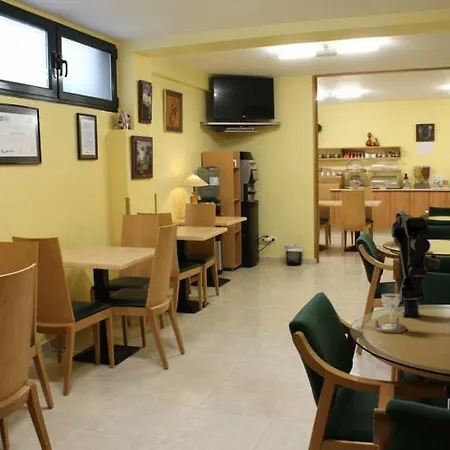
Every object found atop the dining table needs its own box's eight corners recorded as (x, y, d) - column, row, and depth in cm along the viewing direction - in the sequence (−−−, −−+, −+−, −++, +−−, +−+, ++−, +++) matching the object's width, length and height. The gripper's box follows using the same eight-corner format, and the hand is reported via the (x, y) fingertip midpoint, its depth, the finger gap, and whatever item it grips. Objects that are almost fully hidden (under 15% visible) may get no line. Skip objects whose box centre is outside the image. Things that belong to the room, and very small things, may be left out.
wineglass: (388, 330, 207) (387, 297, 206) (378, 325, 214) (377, 294, 213) (404, 327, 209) (403, 295, 208) (394, 323, 215) (393, 292, 214)
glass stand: (375, 325, 218) (375, 316, 218) (405, 325, 215) (405, 316, 215) (375, 333, 208) (374, 324, 207) (406, 333, 205) (406, 324, 204)
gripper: (441, 252, 204) (442, 295, 205) (436, 246, 222) (437, 285, 223) (408, 253, 207) (410, 295, 208) (406, 246, 225) (407, 285, 226)
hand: (417, 290), depth 216 cm, fingers open, 9 cm apart
